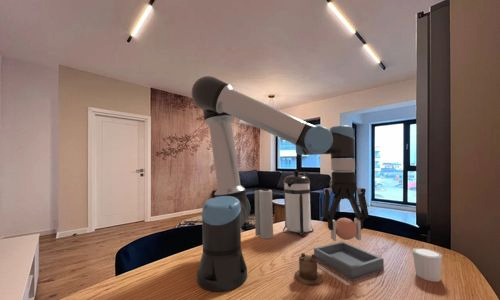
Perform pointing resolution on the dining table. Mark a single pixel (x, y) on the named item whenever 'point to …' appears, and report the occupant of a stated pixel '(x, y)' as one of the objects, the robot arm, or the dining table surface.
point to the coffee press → (297, 204)
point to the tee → (308, 271)
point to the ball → (345, 228)
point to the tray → (349, 260)
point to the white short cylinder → (427, 264)
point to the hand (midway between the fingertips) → (345, 239)
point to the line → (333, 275)
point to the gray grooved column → (263, 214)
